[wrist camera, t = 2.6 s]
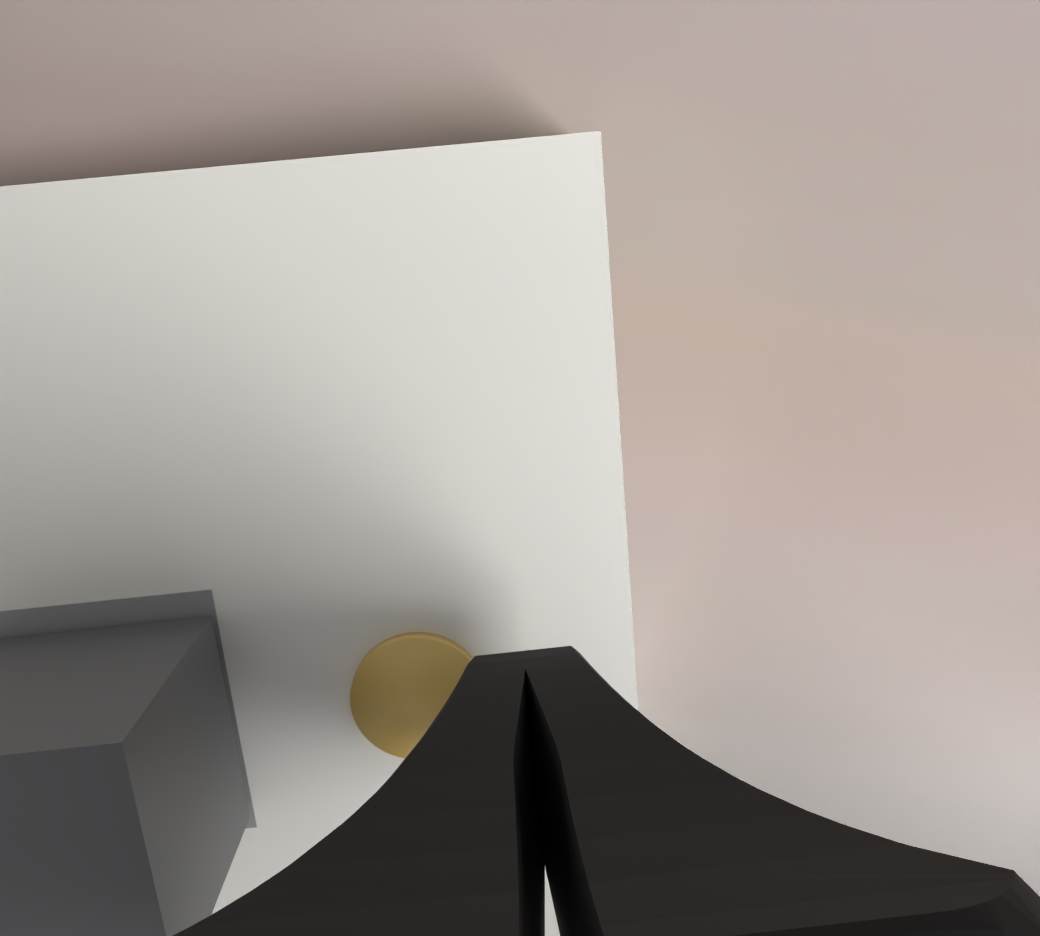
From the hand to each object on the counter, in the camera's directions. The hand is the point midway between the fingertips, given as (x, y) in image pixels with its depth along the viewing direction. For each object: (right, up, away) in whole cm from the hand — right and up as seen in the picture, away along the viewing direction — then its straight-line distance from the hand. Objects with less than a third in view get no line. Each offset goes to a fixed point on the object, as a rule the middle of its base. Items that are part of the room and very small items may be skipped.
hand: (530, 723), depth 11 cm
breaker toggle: (-6, 0, +1) cm, 6 cm away
